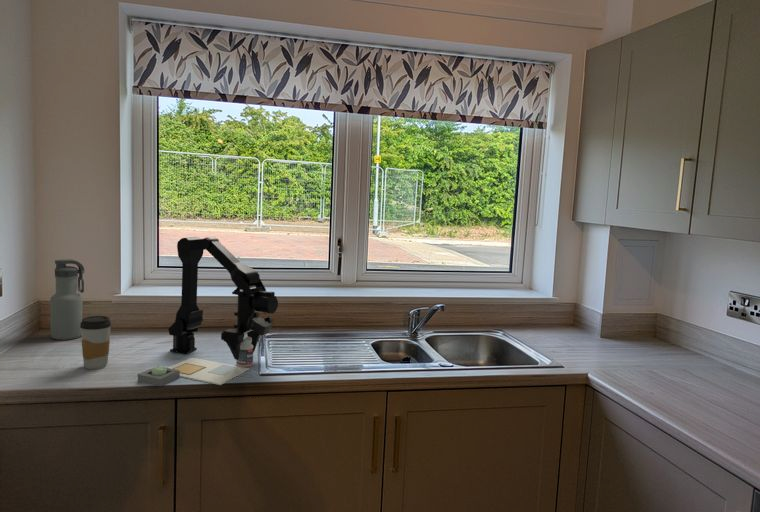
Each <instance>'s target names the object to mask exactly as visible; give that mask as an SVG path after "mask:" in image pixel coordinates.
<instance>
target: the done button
mask: <svg viewBox="0 0 760 512" xmlns="http://www.w3.org/2000/svg"><path fill="white" fill-rule="evenodd" d="M158 366H159V365H158ZM167 368H168V367H166V366H162V365H161V366H159V367H157V366H154V367H152V368H151V369H152V375H155V376H162V375H164V374H166V372H167Z"/></svg>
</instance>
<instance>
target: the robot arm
mask: <svg viewBox="0 0 760 512" xmlns="http://www.w3.org/2000/svg"><path fill="white" fill-rule="evenodd" d="M176 248H177V256H178V259H179V260H180V262H181V265H182V268H181V269H182V270H181V272H182V273H181V275H182V276H181V301H180V302H181V305H180V306H179V308H178V309H177V311H176V314H175V320H174V322H173V323H172V325H170V327H169V328H168V329H167V330H168V334H169V335H170V336H172V348H171V349H169V352H172V353H177V354H183V355H185V354H188V353H191V352H193V351H197V347H196V346H195V345H196V344H195V343H196V340H195V339H196V338H195V333H197V332H198V331H199V328H200V326H201V325H202V322H203V321H204V318H203V314H204V310H203V309H200V308H199V306H198V278H199V277H198V275H199V273H198V272H199V263H200V261H201V259H202V258H203V255H204V251H205V250H206V251H207V252H208V253H209V254H210V255H211V256H212V257H213V258H214V259H215V260H216V261H217V262H218V263H219V264H220V265H221V266H222V267H223V268H224V269H225V270H226V271H227V272H228V273H229V274H230V279H231V281H232V282H233V284H234V286H236V289H234V290H233V291H232V292H231V294H232V295H237V308H236V309H237V310H236V311H234V312H233V313H234V315H233V316H236V323H235V324H233V328H228V329H225V330H223V331H222V332H221V333H220V339H221V341H223V342H225V343H226V344H227V346H228V348H229V350H230V352H231V354H232V356H233V358H234V360H238V359H239V353H240V345H241V344H242V343H243V342H244V340H243V338H244V337H245V334H246V335H247V337H251V338H252V343H251V344H252V345H253V353H254V352H255V350H256V349H257V344H258V342H259V340H260V337H261V336H265V335H267V334H269V332H270V330H271V328H273V327H274V325H273V322H274V321H273V317H271V316H266V317H260V316H259V312H261V313H264V314H265V313H266V314H271V315H273V314H274V313H275V312H277V309H278V306H279V301H278V298H277V296H276V295H275V292H274V291H267V289H266V287H265V285H264V284H263V282H262V279H261V278H260V277H261V276H260V273H259V272H258V271H257V270H256V269H253V268H252V267H251V266H249V265H246V264H244V263H242V262H241V261H240V260H239V259H238V258H236V256H235V255H234V254H232V252H231V251H230V250H228V249H227V248H226V246H225V245H223V244H222V243H221V242H220V239H219V238H217V237H216V236H211V237H204V238H200V237H198V236H193V237H182V238H180V239H179V240H178V241H177V244H176Z"/></svg>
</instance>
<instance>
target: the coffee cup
mask: <svg viewBox="0 0 760 512" xmlns="http://www.w3.org/2000/svg"><path fill="white" fill-rule="evenodd" d="M80 324H81V325H80V328H81V348H82V349H81V350H82V359H83V367H84V368H85V369H86V370H99V369H104V368H106V367H107V366H108V363H109V362H108V361H109V354H110V353H109V352H110V342H111V341H110V338H111V337H110V336H111V326H112V322H111V320H110V317H109V316H106V315H93V316H92V315H91V316H86V317H82V322H81V323H80Z"/></svg>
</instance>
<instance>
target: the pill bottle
mask: <svg viewBox="0 0 760 512" xmlns="http://www.w3.org/2000/svg"><path fill="white" fill-rule="evenodd" d="M243 340H244V342H243V343H242V344H241V345H240V353H239V359H238V360H236V361H235V362H236V363H235V364H236V366H239V367H244V368H249V367H251V366H253V364H254V352H253V345H252V344H251V343H252V338H251V337H248V336H244V338H243Z"/></svg>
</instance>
